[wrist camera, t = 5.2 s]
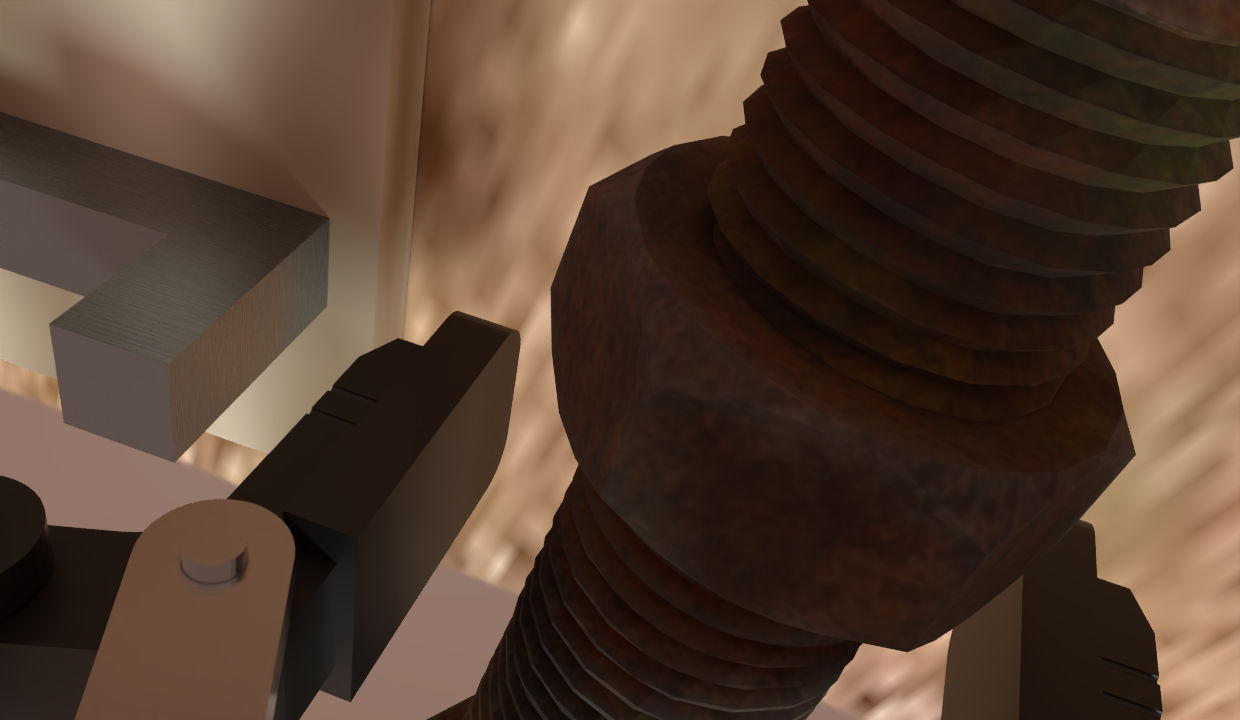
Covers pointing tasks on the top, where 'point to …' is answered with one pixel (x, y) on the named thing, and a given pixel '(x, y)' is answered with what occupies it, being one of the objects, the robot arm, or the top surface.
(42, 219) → the grey notched cradle
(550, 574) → the bolt
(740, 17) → the top surface
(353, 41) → the collar board
